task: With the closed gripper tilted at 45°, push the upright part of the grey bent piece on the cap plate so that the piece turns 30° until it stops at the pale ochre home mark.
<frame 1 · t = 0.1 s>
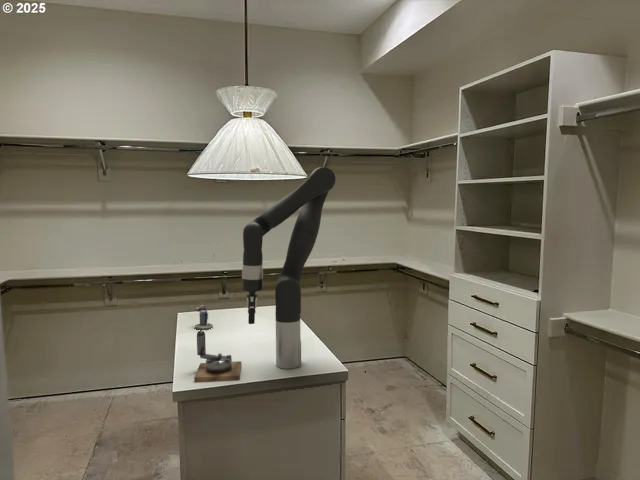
hand: (251, 320, 165), 17 cm above the table, tool pointing down, fingers open, 8 cm apart
figurine: (204, 328, 218), on the table
grey bent piece: (213, 349, 160), point 8 cm above the table, hinge at -30.0°
walnut cap plate: (219, 373, 160), on the table
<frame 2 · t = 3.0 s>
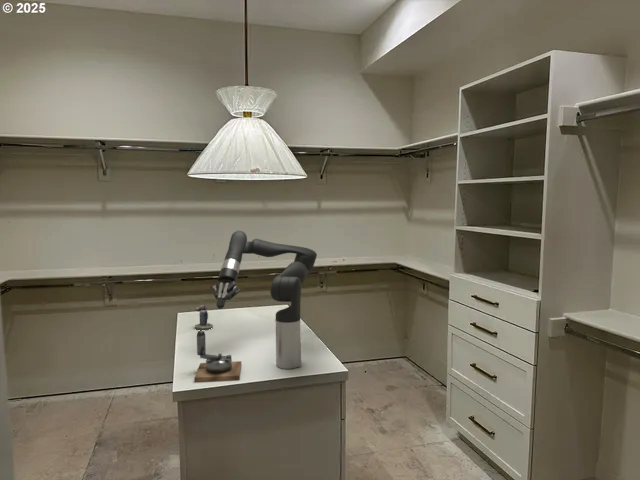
hand: (219, 307, 179), 19 cm above the table, tool tilted 45°, fingers closed
nothing on the table moved.
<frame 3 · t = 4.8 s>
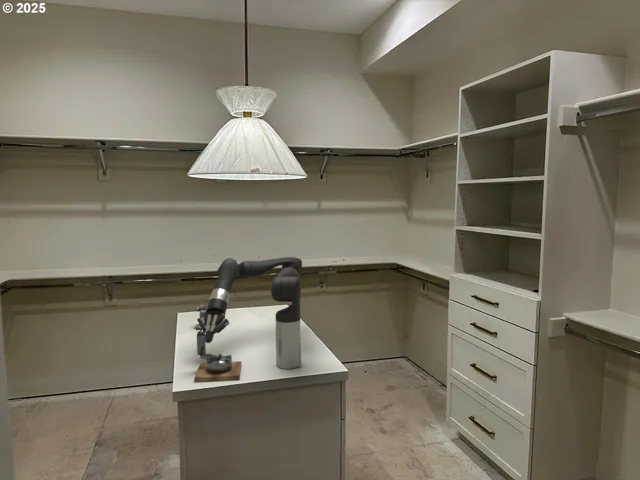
hand: (207, 342, 168), 9 cm above the table, tool tilted 45°, fingers closed
nothing on the table moved.
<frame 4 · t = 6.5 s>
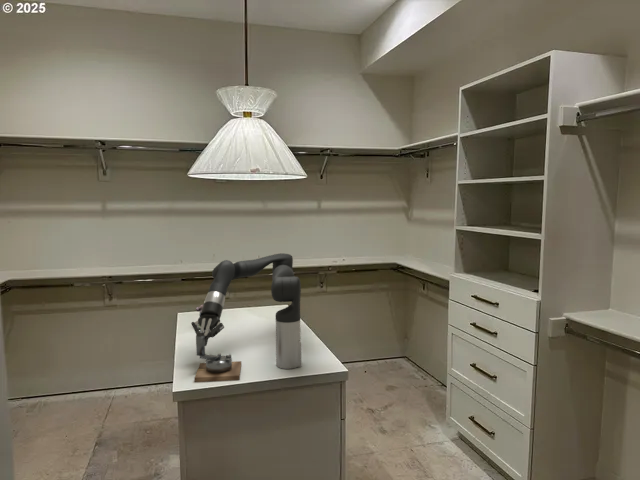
hand: (201, 346, 164), 8 cm above the table, tool tilted 45°, fingers closed
grey bent piece: (213, 349, 160), point 8 cm above the table, hinge at -26.8°, touching gripper
everything else where it was.
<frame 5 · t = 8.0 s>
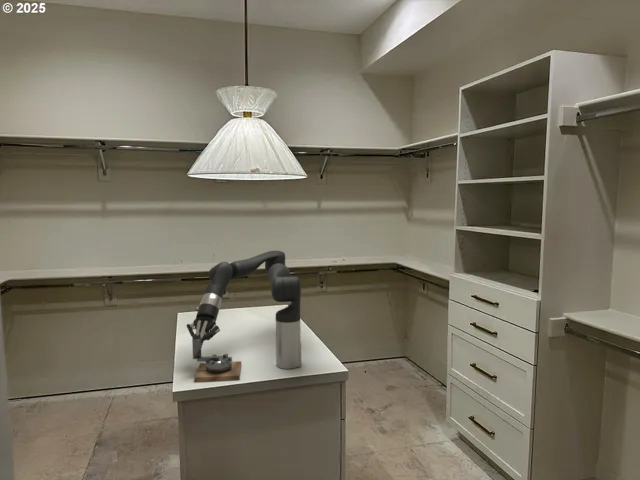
hand: (196, 349, 161), 8 cm above the table, tool tilted 45°, fingers closed
grey bent piece: (212, 350, 159), point 8 cm above the table, hinge at -1.8°, touching gripper
everything else where it was.
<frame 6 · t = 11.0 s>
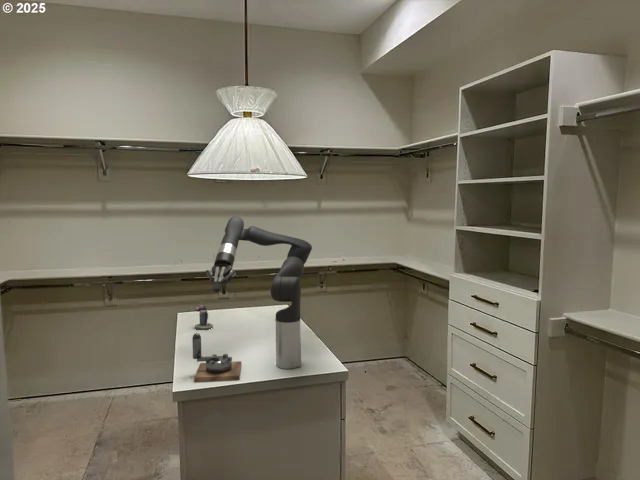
hand: (215, 291, 176), 26 cm above the table, tool tilted 45°, fingers closed
grey bent piece: (212, 350, 159), point 8 cm above the table, hinge at -1.7°
everything else where it was.
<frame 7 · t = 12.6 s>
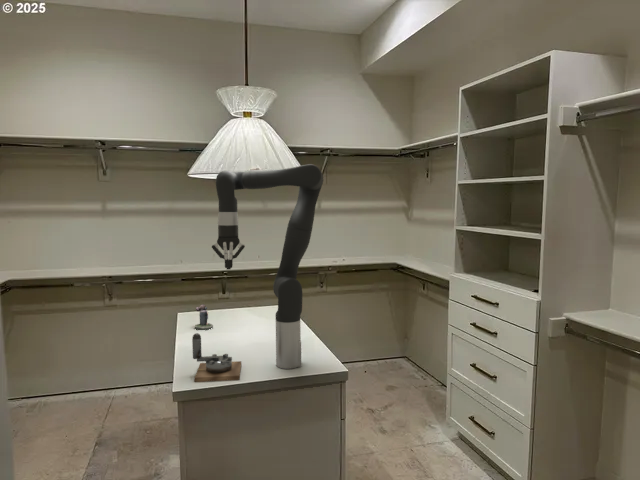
hand: (228, 269, 172), 35 cm above the table, tool pointing down, fingers closed
nothing on the table moved.
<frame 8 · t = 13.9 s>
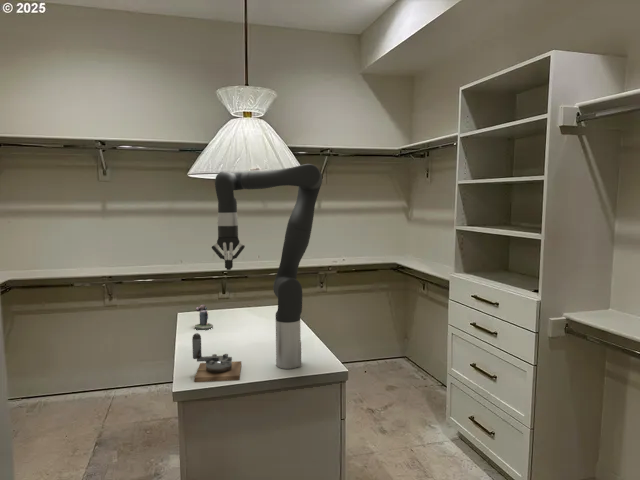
hand: (228, 269, 172), 35 cm above the table, tool pointing down, fingers closed
nothing on the table moved.
at the end: grey bent piece at -2° (first picture: -30°) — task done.
